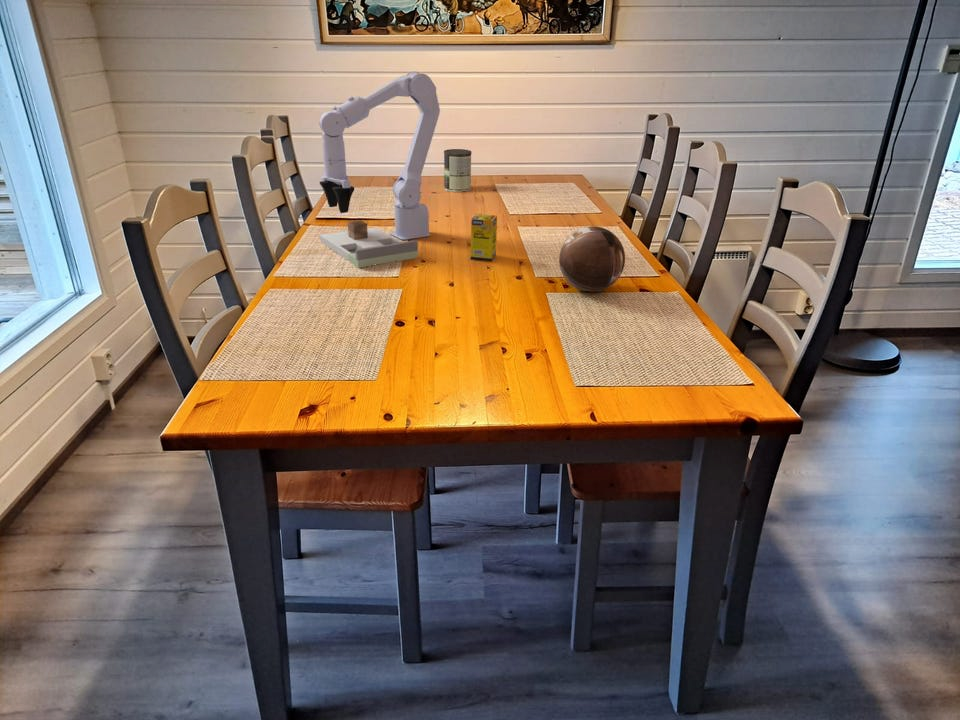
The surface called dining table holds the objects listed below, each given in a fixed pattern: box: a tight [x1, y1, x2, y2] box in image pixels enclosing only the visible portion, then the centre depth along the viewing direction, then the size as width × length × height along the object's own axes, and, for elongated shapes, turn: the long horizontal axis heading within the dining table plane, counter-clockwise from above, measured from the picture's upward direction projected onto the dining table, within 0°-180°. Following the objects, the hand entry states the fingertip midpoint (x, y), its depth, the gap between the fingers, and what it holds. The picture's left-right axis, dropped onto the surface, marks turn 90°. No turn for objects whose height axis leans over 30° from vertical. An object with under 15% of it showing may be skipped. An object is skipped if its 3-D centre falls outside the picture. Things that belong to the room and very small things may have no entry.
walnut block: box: [347, 220, 368, 240], centre depth 182 cm, size 4×4×4 cm
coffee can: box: [443, 148, 472, 193], centre depth 247 cm, size 10×10×14 cm
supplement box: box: [470, 213, 498, 262], centre depth 173 cm, size 6×6×11 cm
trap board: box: [319, 227, 419, 269], centre depth 178 cm, size 17×26×4 cm, turn 33°
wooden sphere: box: [558, 226, 626, 292], centre depth 152 cm, size 15×15×15 cm
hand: (338, 209), depth 183 cm, fingers open, 7 cm apart
